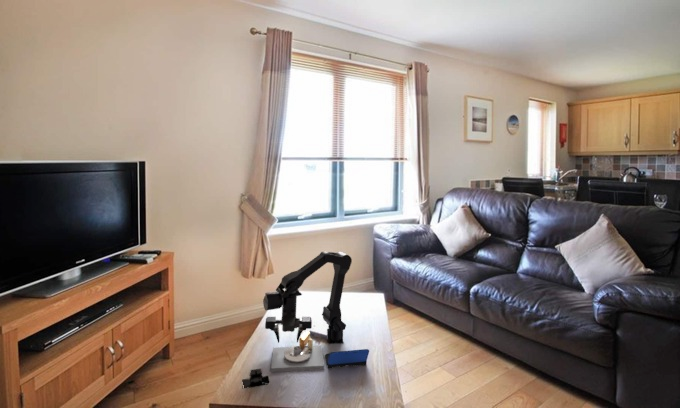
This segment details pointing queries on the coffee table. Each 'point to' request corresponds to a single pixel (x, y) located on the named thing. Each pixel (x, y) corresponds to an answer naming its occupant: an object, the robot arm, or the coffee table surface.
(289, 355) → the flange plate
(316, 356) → the base plate
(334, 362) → the handheld game console
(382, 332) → the coffee table surface
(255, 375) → the black angular piece
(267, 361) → the coffee table surface
